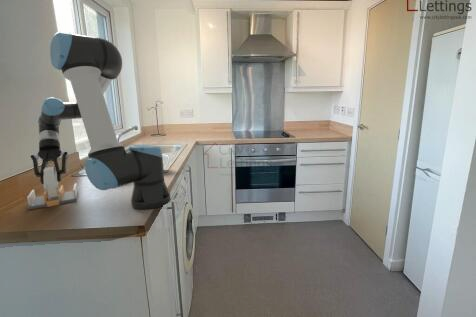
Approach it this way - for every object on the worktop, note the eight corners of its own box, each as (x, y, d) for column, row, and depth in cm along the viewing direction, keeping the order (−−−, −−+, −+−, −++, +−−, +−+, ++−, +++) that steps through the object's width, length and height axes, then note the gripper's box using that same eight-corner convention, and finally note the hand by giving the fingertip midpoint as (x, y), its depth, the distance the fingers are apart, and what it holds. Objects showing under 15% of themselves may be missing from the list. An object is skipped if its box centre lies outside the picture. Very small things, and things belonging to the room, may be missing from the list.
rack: (76, 201, 107) (74, 190, 106) (28, 210, 100) (25, 198, 99) (78, 192, 118) (76, 182, 117) (35, 199, 111) (32, 189, 110)
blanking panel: (57, 196, 107) (52, 169, 104) (48, 197, 106) (43, 170, 103) (59, 191, 112) (54, 166, 109) (51, 192, 111) (45, 167, 108)
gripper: (72, 145, 122) (76, 189, 111) (29, 149, 114) (29, 197, 104) (69, 136, 116) (72, 181, 105) (24, 139, 108) (23, 188, 98)
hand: (51, 188), depth 105 cm, fingers closed on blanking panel, 3 cm apart
